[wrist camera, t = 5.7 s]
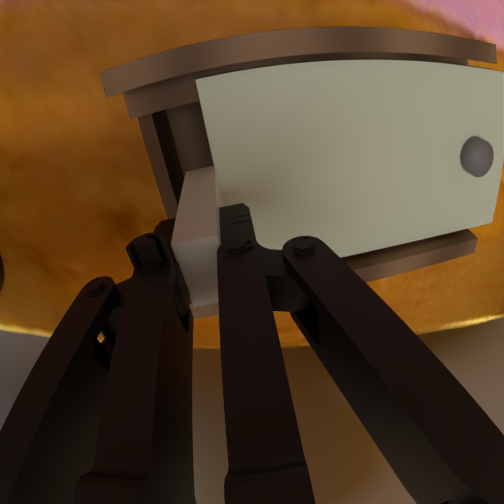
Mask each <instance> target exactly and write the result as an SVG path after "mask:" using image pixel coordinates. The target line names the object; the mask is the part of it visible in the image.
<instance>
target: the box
mask: <svg viewBox="0 0 504 504" xmlns="http://www.w3.org/2000/svg"><path fill="white" fill-rule="evenodd" d="M349 58H391V59H413V60H427V61H439V62H448V63H456V64H464V65H468V60H467V59H470V60H476V61H482V62H488V63H493V64H497V59H496V45H495V44H491V43H487V42H482V41H478V40H473V39H468V38H463V37H458V36H452V35H446V34H440V33H433V32H425V31H417V30H407V29H395V28H379V27H314V28H298V29H285V30H275V31H266V32H258V33H251V34H244V35H238V36H232V37H226V38H221V39H215V40H210V41H205V42H201V43H196V44H192V45H187V46H183V47H179V48H175V49H171V50H168V51H164V52H160V53H157V54H153V55H150V56H147V57H143V58H140V59H137V60H134V61H131V62H128V63H125V64H122V65H119V66H116V67H113V68H111V69H108V70H105V71H102V72H100V75H101V79H102V83H103V86H104V90H105V94H106V98H108V97H110V96H113V95H116V94H119V93H122V92H123V93H124V97H125V101H126V105H127V108H128V112H129V116H130V119H135V118H138V120H139V124H140V127H141V131H142V134H143V138H144V141H145V145H146V148H147V152H148V155H149V158H150V162H151V165H152V168H153V172H154V175H155V178H156V181H157V185H158V188H159V191H160V194H161V197H162V200H163V203H164V206H165V210H166V213H167V216H168V219H172V218H176V215H177V210H178V206H179V201H180V196H181V192H182V187H183V183H184V178H185V174H186V172H188V171H192V170H197V169H201V168H206V167H210V166H214V163H213V158H212V154H211V149H210V145H209V140H208V136H207V131H206V127H205V122H204V117H203V113H202V108H201V104H200V99H199V94H198V90H197V85H196V78H197V77H202V76H207V75H211V74H216V73H222V72H227V71H232V70H238V69H244V68H250V67H257V66H264V65H272V64H280V63H289V62H299V61H311V60H326V59H349ZM477 240H478V238H477V237H476V236H475V235H474V234H473V233H472V232H471V231H470V230H468V229H464V230H459V231H455V232H451V233H447V234H443V235H438V236H434V237H430V238H426V239H421V240H417V241H413V242H408V243H404V244H400V245H395V246H391V247H386V248H382V249H377V250H373V251H369V252H364V253H359V254H355V255H350V256H346V257H341V259H342V260H343V261H344V262H345V263H346V264H347V265H348V266H349V267H350V268H351V269H352V270H353V271H354V272H355V273H356V274H357V275H358V276H359V277H360V278H361V279H362V280H363V281H364V282H369V281H373V280H377V279H381V278H385V277H389V276H393V275H396V274H400V273H404V272H408V271H411V270H415V269H419V268H422V267H426V266H430V265H433V264H437V263H440V262H444V261H447V260H451V259H454V258H458V257H461V256H464V255H468V254H471V253H474V252H475V248H476V244H477ZM189 306H190V308H191V311H192V314H193V319H195V318H201V317H206V316H212V315H217V314H219V303H213V304H207V305H202V306H196V307H194V306H193V303H192V301H191V298H190V305H189Z"/></svg>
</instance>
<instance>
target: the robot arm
mask: <svg viewBox="0 0 504 504" xmlns="http://www.w3.org/2000/svg"><path fill="white" fill-rule="evenodd" d="M126 250H127V253H128V255H129V257H130V260H131V262H132V264H133V266H134V268H135V269H134V272H133V275H132V277H131V278H129V279H127V280H125V281H123V282H120V283H118V284H116V285H115V283H114V281H113V279H111V278H110V277H107V276H103V277H98V278H95V279H93V280H91V281H90V282H89V283H87V284H86V285H85V286H84V287H83V288H82V290H81V291H80V293H79V294H78V296H77V297H76V299H75V300H74V302H73V303H72V305H71V306H70V308H69V309H68V311H67V312H66V314H65V315H64V317H63V319H62V320H61V322H60V323H59V325H58V326H57V328H56V330H55V331H54V333H53V334H52V336H51V338H50V339H49V341H48V343H47V344H46V346H45V348H44V349H43V351H42V353H41V355H40V356H39V358H38V360H37V362H36V363H35V365H34V367H33V369H32V370H31V372H30V374H29V376H28V378H27V379H26V381H25V383H24V385H23V387H22V389H21V391H20V392H19V394H18V397H17V398H16V400H15V402H14V404H13V406H12V408H11V410H10V412H9V414H8V416H7V418H6V420H5V423H4V425H3V427H2V429H1V431H0V504H197V503H196V500H195V494H194V471H193V435H192V354H193V314H192V311H191V308H190V306H189V305H190V298H191V301H192V303H193V306H194V307H196V306H202V305H207V304H213V303H219V326H220V346H221V363H222V381H223V397H224V411H225V424H226V438H227V450H228V464H229V468H228V473H227V475H226V477H225V483H224V497H225V504H315V499H314V495H313V491H312V485H311V481H310V476H309V472H308V468H307V464H306V461H305V457H304V453H303V448H302V444H301V439H300V434H299V430H298V425H297V420H296V415H295V411H294V406H293V402H292V397H291V392H290V388H289V383H288V378H287V374H286V369H285V365H284V361H283V355H282V350H281V346H280V341H279V337H278V332H277V328H276V323H275V318H274V314H273V311H285V312H290V314H291V317H292V318H293V320H294V321H295V323H296V324H297V326H298V327H299V329H300V330H301V332H302V334H303V335H304V337H305V338H306V340H307V341H308V343H309V344H310V346H311V347H312V349H313V350H314V352H315V353H316V355H317V356H318V358H319V359H320V361H321V362H322V363H323V365H324V367H325V368H326V370H327V371H328V373H329V374H330V376H331V377H332V379H333V380H334V382H335V383H336V385H337V386H338V388H339V389H340V391H341V392H342V394H343V395H344V397H345V398H346V400H347V401H348V403H349V404H350V406H351V407H352V409H353V411H354V412H355V414H356V415H357V417H358V418H359V419H360V421H361V423H362V424H363V425H364V427H365V429H366V430H367V432H368V433H369V435H370V436H371V438H372V439H373V440H374V442H375V444H376V445H377V447H378V448H379V450H380V451H381V453H382V454H383V456H384V457H385V459H386V460H387V462H388V463H389V465H390V466H391V468H392V469H393V471H394V472H395V474H396V475H397V477H398V478H399V480H400V481H401V483H402V484H403V486H404V487H405V489H406V490H407V491H408V493H409V494H410V495H411V496H412V498H413V499H414V500H415V502H416V503H417V504H504V435H503V434H502V433H501V431H500V430H499V429H498V428H497V426H496V425H495V424H494V423H493V421H492V420H491V419H490V418H489V417H488V415H487V414H486V413H485V412H484V411H483V409H482V408H481V407H480V406H479V405H478V403H477V402H476V401H475V400H474V399H473V398H472V396H471V395H470V394H469V393H468V392H467V391H466V389H465V388H464V387H463V386H462V385H461V384H460V383H459V381H458V380H457V379H456V378H455V377H454V376H453V375H452V374H451V372H450V371H449V370H448V369H447V368H446V367H445V366H444V365H443V364H442V362H440V360H439V359H438V358H437V357H436V356H435V355H434V354H433V352H432V351H431V350H430V349H429V348H428V347H427V346H426V345H425V344H424V343H423V342H422V341H421V340H420V338H419V337H418V336H417V335H416V334H415V333H414V332H413V331H412V330H411V329H410V328H409V327H408V326H407V325H406V324H405V323H404V321H403V320H402V319H401V318H400V317H399V316H398V315H397V314H396V313H395V312H394V311H393V310H392V309H391V308H390V307H389V306H388V305H387V304H386V303H385V302H384V301H383V300H382V299H381V298H380V297H379V296H378V295H377V294H376V293H375V292H374V291H373V290H372V289H371V288H370V287H369V286H368V285H367V284H366V283H365V282H364V281H363V280H362V279H361V278H360V277H359V276H358V275H357V274H356V273H355V272H354V271H353V270H352V269H351V268H350V267H349V266H348V265H347V264H346V263H345V262H344V261H343V260H342V259H341V258H340V257H339V256H338V255H337V254H336V253H335V252H334V251H333V250H332V249H331V248H330V247H329V246H327V245H326V244H325V243H324V242H323V241H322V240H320V239H319V238H317V237H312V236H299V237H295V238H292V239H290V240H288V241H287V242H286V243H285V244H284V245H283V248H282V250H276V249H268V248H265V247H263V246H261V245H260V244H259V243H258V242H257V240H256V236H255V232H254V227H253V223H252V218H251V214H250V209H249V207H248V206H246V205H245V204H244V203H239V204H234V205H229V206H223V201H222V197H221V192H220V188H219V184H218V179H217V175H216V170H215V167H214V166H210V167H206V168H201V169H197V170H192V171H188V172H186V174H185V178H184V183H183V187H182V192H181V196H180V201H179V206H178V210H177V215H176V218H172V219H168V220H163V221H161V222H160V223H159V224H158V225H157V226H156V228H155V230H154V233H147V234H144V235H141V236H139V237H137V238H135V239H133V240H132V241H131V242H130V243H129V244H128V245H127V247H126ZM2 284H3V267H2V262H1V258H0V290H1V288H2ZM100 331H101V333H102V334H103V336H104V337H105V338H104V340H103V342H102V343H100V342H99V341H98V339H97V337H98V335H99V333H100Z"/></svg>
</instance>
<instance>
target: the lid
mask: <svg viewBox="0 0 504 504" xmlns="http://www.w3.org/2000/svg"><path fill="white" fill-rule="evenodd" d="M196 85H197V90H198V94H199V99H200V104H201V108H202V113H203V117H204V122H205V127H206V131H207V136H208V140H209V145H210V149H211V154H212V158H213V163H214V167H215V170H216V175H217V179H218V184H219V188H220V192H221V197H222V201H223V206H229V205H234V204H239V203H244V204H245V205H246V206H248V207H249V209H250V214H251V218H252V223H253V227H254V232H255V236H256V240H257V242H258V243H259V244H260V245H261V246H263V247H265V248H268V249H276V250H282V248H283V245H284V244H285V243H286V242H287V241H288V240H290V239H292V238H295V237H299V236H312V237H317V238H319V239H320V240H322V241H323V242H324V243H325V244H326V245H327V246H329V247H330V248H331V249H332V250H333V251H334V252H335V253H336V254H337V255H338V256H339V257H340V258H341V257H346V256H350V255H355V254H359V253H364V252H369V251H373V250H377V249H382V248H386V247H391V246H395V245H400V244H404V243H408V242H413V241H417V240H421V239H426V238H430V237H434V236H438V235H443V234H447V233H451V232H455V231H459V230H464V229H468V228H472V227H476V226H480V225H484V224H488V223H492V219H493V215H494V211H495V206H496V201H497V196H498V191H499V185H500V180H501V173H502V167H503V160H504V72H502V71H498V70H494V69H489V68H484V67H478V66H471V65H464V64H456V63H448V62H439V61H427V60H413V59H391V58H349V59H326V60H311V61H299V62H289V63H280V64H272V65H264V66H257V67H250V68H244V69H238V70H232V71H227V72H222V73H216V74H211V75H207V76H202V77H197V78H196Z"/></svg>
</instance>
